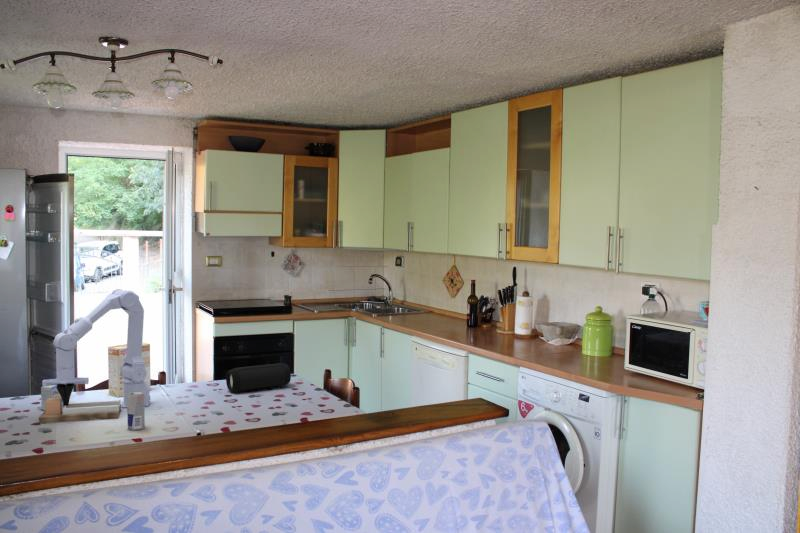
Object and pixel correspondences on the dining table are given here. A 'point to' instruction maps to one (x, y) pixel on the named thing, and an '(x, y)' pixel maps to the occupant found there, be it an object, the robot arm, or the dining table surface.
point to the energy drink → (136, 410)
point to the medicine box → (49, 394)
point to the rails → (92, 407)
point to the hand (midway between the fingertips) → (66, 405)
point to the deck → (77, 416)
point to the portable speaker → (258, 377)
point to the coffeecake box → (115, 364)
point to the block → (54, 406)
